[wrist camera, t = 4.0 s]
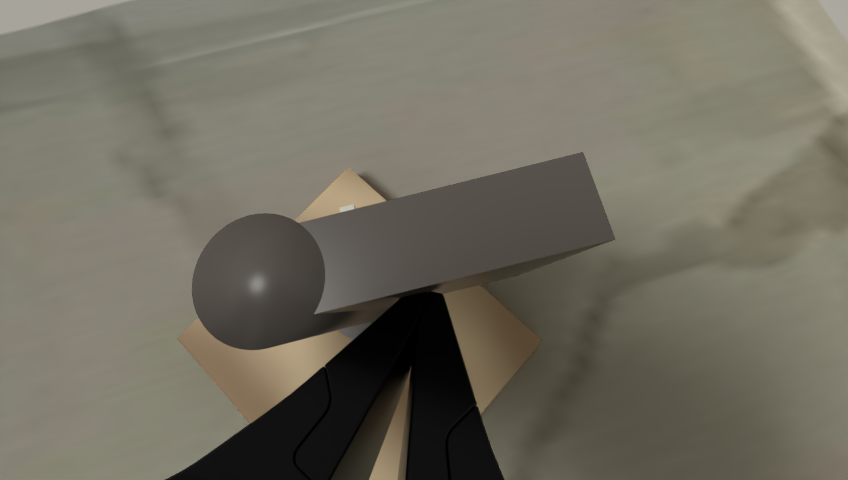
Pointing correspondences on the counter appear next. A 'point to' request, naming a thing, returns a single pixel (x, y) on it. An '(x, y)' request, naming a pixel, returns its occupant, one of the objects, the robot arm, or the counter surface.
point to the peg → (391, 252)
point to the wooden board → (297, 361)
